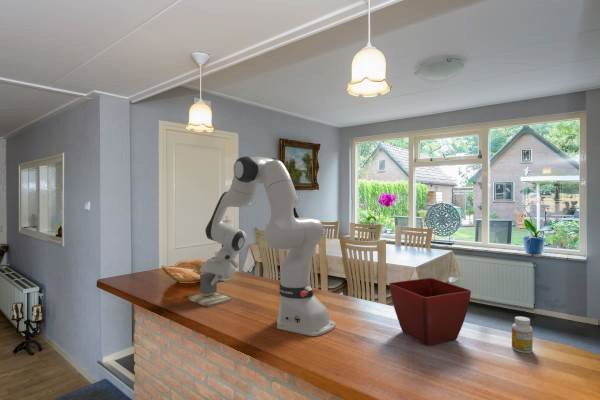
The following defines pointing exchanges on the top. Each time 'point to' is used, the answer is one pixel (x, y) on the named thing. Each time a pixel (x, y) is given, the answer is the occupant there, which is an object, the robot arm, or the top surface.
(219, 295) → the board
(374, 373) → the top surface
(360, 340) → the top surface
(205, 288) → the block
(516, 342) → the supplement bottle
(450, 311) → the plant pot
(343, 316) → the top surface
